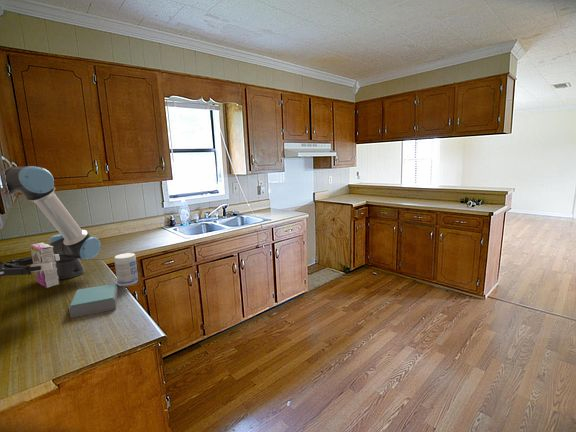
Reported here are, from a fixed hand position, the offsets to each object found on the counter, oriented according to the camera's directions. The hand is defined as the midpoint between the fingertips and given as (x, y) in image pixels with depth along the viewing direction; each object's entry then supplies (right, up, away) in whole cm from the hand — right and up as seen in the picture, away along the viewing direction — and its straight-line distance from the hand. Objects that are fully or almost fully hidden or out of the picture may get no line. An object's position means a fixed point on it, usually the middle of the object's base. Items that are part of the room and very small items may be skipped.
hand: (55, 261), depth 127 cm
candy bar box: (-3, -9, 0) cm, 10 cm away
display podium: (+12, -20, +7) cm, 24 cm away
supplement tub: (+14, -16, +30) cm, 37 cm away
